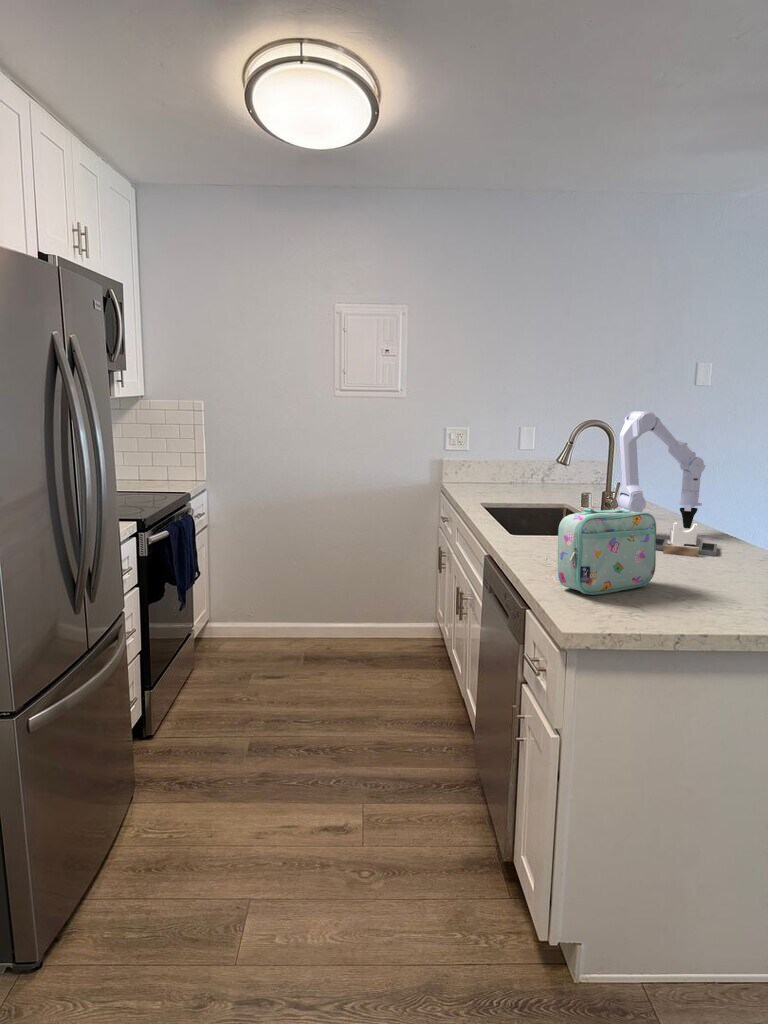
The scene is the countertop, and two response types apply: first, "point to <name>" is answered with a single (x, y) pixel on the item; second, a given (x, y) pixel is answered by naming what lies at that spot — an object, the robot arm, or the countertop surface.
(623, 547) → the lunch box
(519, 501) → the countertop surface
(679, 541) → the bracket
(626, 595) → the countertop surface
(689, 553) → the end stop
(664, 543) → the trap pits
